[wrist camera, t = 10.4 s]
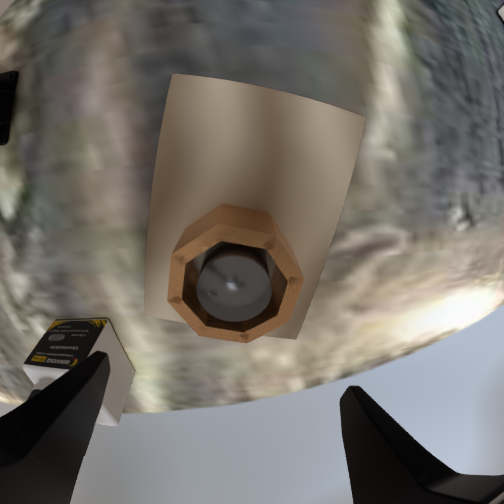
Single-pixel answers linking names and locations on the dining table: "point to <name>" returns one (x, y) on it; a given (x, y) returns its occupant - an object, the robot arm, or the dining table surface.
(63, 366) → the medicine bottle
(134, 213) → the dining table surface
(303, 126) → the piston stand
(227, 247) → the piston
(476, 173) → the dining table surface
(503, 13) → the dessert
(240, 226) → the ring
